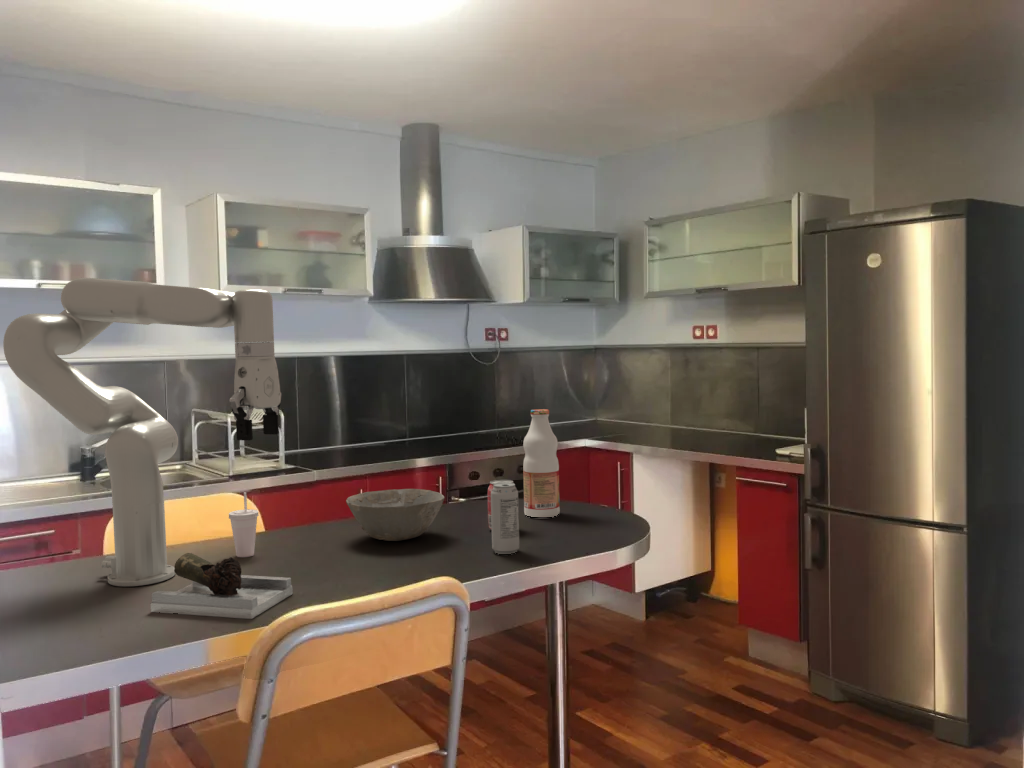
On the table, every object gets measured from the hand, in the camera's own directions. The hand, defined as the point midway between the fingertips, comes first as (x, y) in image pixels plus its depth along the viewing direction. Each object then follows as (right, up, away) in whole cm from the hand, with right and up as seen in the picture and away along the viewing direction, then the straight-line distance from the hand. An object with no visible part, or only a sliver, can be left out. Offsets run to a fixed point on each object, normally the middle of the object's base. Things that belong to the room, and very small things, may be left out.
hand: (258, 437), depth 166 cm
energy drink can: (+50, -27, +16) cm, 59 cm away
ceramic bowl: (+23, -26, +31) cm, 47 cm away
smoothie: (-9, -28, +18) cm, 34 cm away
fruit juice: (+59, -24, +53) cm, 83 cm away
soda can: (+49, -25, +37) cm, 66 cm away
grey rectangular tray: (-2, -29, -15) cm, 33 cm away
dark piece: (-4, -27, -13) cm, 30 cm away
